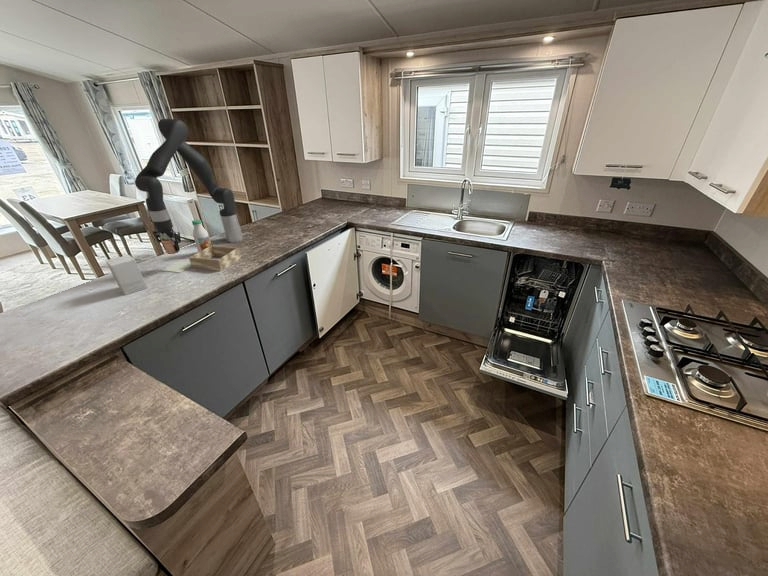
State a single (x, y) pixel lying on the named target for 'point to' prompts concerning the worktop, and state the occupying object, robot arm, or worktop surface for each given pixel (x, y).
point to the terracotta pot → (168, 245)
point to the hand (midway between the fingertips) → (172, 250)
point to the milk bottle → (200, 236)
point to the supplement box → (126, 274)
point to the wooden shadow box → (204, 261)
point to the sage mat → (177, 267)
